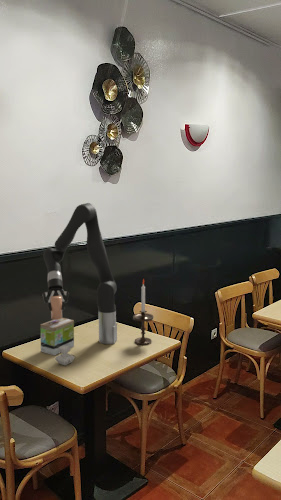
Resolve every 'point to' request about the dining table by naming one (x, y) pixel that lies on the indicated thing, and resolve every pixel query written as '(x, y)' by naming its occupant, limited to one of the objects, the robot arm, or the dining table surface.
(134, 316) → the candlestick
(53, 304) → the tan rounded cylinder
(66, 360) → the white lumpy piece
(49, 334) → the tea box
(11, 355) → the dining table surface
